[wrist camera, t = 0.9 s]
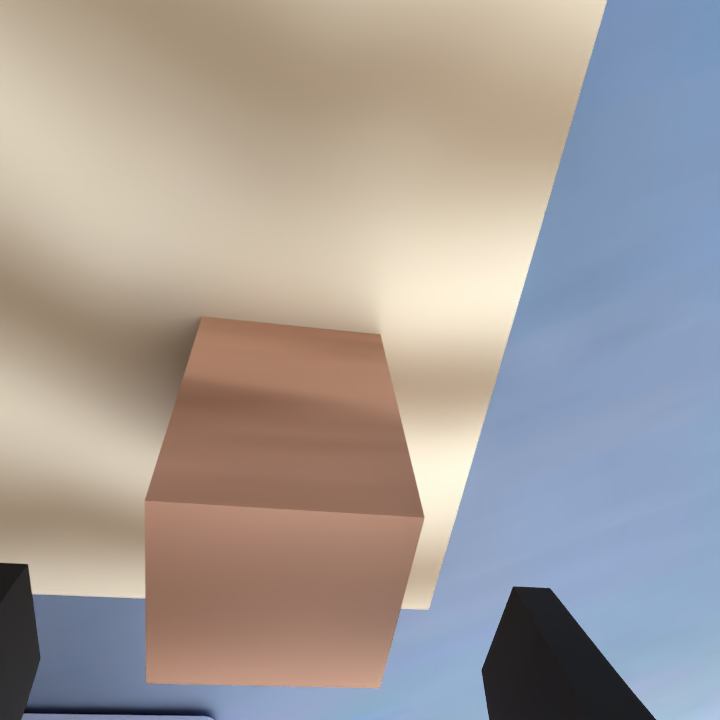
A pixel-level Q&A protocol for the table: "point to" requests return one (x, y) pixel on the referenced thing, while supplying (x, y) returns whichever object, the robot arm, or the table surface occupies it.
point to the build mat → (258, 229)
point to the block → (279, 512)
